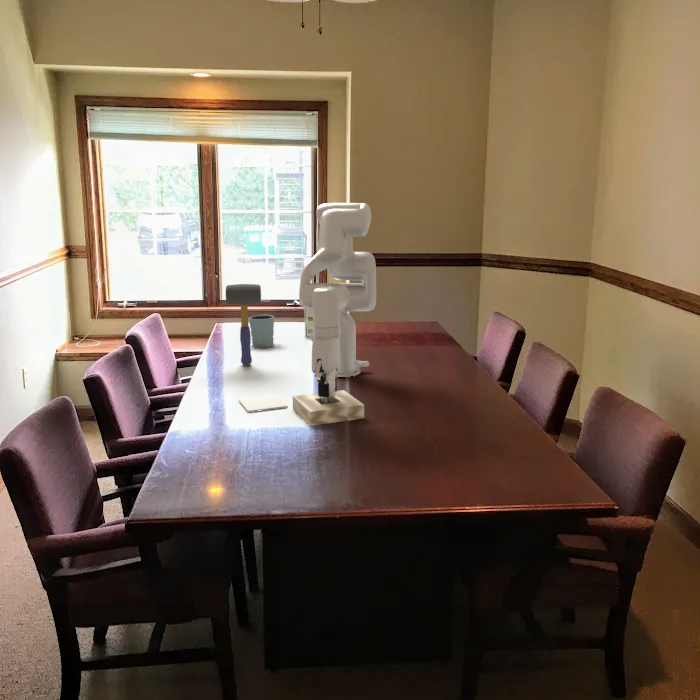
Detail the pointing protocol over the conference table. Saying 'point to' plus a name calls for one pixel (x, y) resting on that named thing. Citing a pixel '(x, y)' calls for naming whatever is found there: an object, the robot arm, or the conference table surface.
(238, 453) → the conference table surface
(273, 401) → the mat
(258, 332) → the teal cup
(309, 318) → the coffee can
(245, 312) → the rubber mallet
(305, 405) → the socket block
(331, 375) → the steel cylinder
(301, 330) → the conference table surface
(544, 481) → the conference table surface
